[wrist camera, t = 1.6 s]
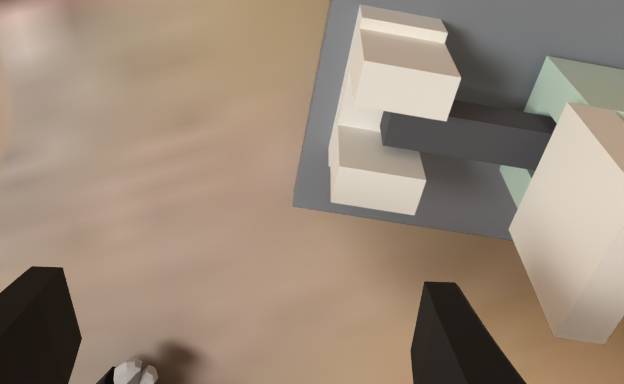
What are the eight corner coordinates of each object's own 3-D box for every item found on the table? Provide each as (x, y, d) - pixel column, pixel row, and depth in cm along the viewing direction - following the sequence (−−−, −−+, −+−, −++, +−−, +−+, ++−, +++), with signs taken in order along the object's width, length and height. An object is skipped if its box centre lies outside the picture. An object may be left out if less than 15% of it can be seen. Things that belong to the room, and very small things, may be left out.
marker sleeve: (673, 78, 17) (863, 230, 11) (612, 188, 20) (742, 364, 14) (527, 52, 17) (640, 193, 11) (481, 166, 19) (554, 337, 13)
